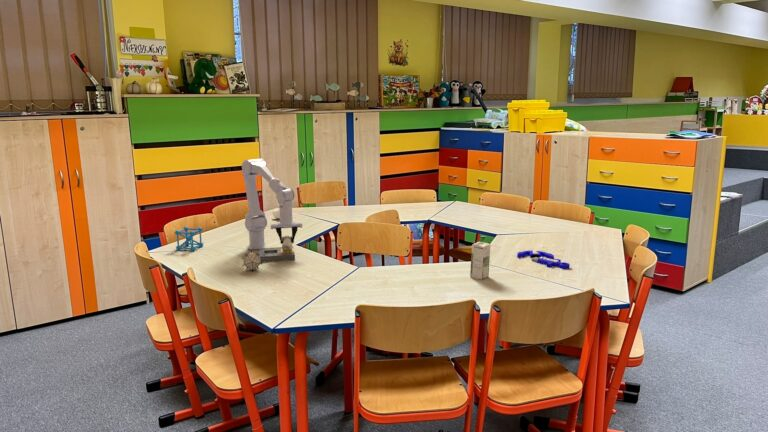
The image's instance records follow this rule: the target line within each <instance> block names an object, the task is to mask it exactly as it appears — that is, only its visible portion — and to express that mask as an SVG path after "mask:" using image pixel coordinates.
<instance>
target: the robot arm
mask: <svg viewBox="0 0 768 432" xmlns="http://www.w3.org/2000/svg"><path fill="white" fill-rule="evenodd" d="M241 171H242V176H243V180H244V186H245V193H246V200H247V201H246V202H247V205H248V206H247V207H248V212H247V213H246V214H245V216H244V218H245V219H244V226H245V229H246V230H247V231H248V236H249V237H248V238H249V239H248V240H249V244H248V250H250V251H252V250H259V248H267V247H266V242H265V230H266V228H267V225H268V220H267V217H266V213H265V212H264V211H262V210H261V207H260V201H259V194H258V188H257V187H258V186H257V180H256V179H257V177H258V175H260V176H261V177H262V178H263V179H265V180H266V182H267V183H268V187H269V188H270V189H271V190H272V192H273V193H274V194H275V195H276V196H275V197H276V201H277V204H279V206H280V208H279V209H280V219H279V223H270V230H275V231H276V233H277V235H278V238H279V241H280V245H282V237H283V235H282V233H283V232H282V229H291V236H292V244H294V242H295V237H296V235H297V233H298V228H300V229H301V228H303V223H302V222H293V200H294V198H295V192H294V190H293V188H291V187H288V186H286V185H285V184H284V183H283V182H282V181H281V179H280V178H278V177H275V176H274V175H273V174H272V172H271V171H270V170H269V168H268V167H267V162H266V161H265V160H264V159H263V158H255V159H254V158H253V159H245V160H243V162H242V164H241ZM279 206H278V207H279Z"/></svg>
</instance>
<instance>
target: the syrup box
mask: <svg viewBox="0 0 768 432" xmlns="http://www.w3.org/2000/svg"><path fill="white" fill-rule="evenodd" d="M470 256H471V257H470V273H469V275H470V276H469V277H470V278H472V279H476V280H485V279H486V278H488V277H489V274H490V273H489V272H490V261H491V260H490V259H491V258H490V257H491V243H488V242H483V241H476V243H475V242H474V243H473V244H472V245H471V255H470Z"/></svg>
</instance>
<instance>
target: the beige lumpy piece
mask: <svg viewBox="0 0 768 432" xmlns="http://www.w3.org/2000/svg"><path fill="white" fill-rule="evenodd" d="M260 258H261V257H259V252H257V253H255V252H253V251H252V250H250V252H249V253H245V256H244V257H242V258H241V260H242V261H243V264H242V267H244V266H245V267H246V269H245V270H247V269H248V270H251V272H254V270H255V269H259V266H260V265H263V262H261V261H260Z"/></svg>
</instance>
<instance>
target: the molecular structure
mask: <svg viewBox="0 0 768 432" xmlns="http://www.w3.org/2000/svg"><path fill="white" fill-rule="evenodd" d="M202 232H203V228H202V227H198V228H191V227H190V228H189V227H188V226H184V227H182V229H180V230H179V229H177V230H175V231H174V234H175V235H176V242H177V243H176V244H177V245H176V246H175V249H176V250H177V251H181V249H182V250H190V251H191V252H194V251H195V250H196V248H199V247H200V248H202V247H203V246H204V243H203V242H202ZM198 233H199V242H198V241H197V240H194V236H196V235H197V234H198ZM179 235H180V236H182V237H183V238H185V241H184V242H183V243H181V244H180V240H179V239H180V237H179ZM189 245H190V247H189ZM185 246H186V247H185Z"/></svg>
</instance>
